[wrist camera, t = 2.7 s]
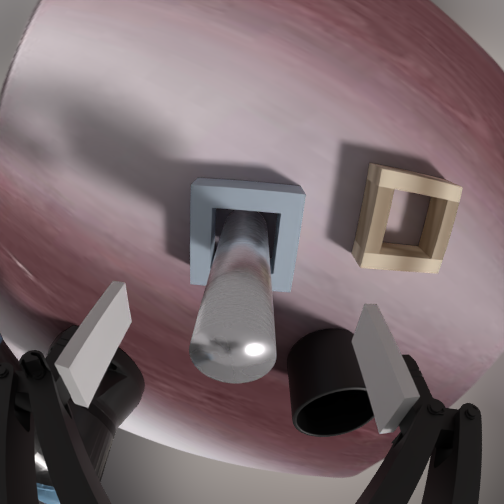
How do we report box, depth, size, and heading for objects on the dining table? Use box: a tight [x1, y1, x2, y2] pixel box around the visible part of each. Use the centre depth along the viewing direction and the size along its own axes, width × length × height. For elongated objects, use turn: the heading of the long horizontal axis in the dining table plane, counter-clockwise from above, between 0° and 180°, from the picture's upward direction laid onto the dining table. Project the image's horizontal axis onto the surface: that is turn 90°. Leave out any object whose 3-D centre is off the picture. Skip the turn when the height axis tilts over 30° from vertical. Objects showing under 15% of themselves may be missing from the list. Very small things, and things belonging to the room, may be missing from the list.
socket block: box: [190, 178, 306, 292], centre depth 26 cm, size 9×9×3 cm
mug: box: [287, 329, 374, 437], centre depth 31 cm, size 9×12×9 cm
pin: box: [189, 210, 276, 383], centre depth 20 cm, size 4×4×16 cm
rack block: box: [352, 163, 463, 274], centre depth 25 cm, size 9×9×3 cm
